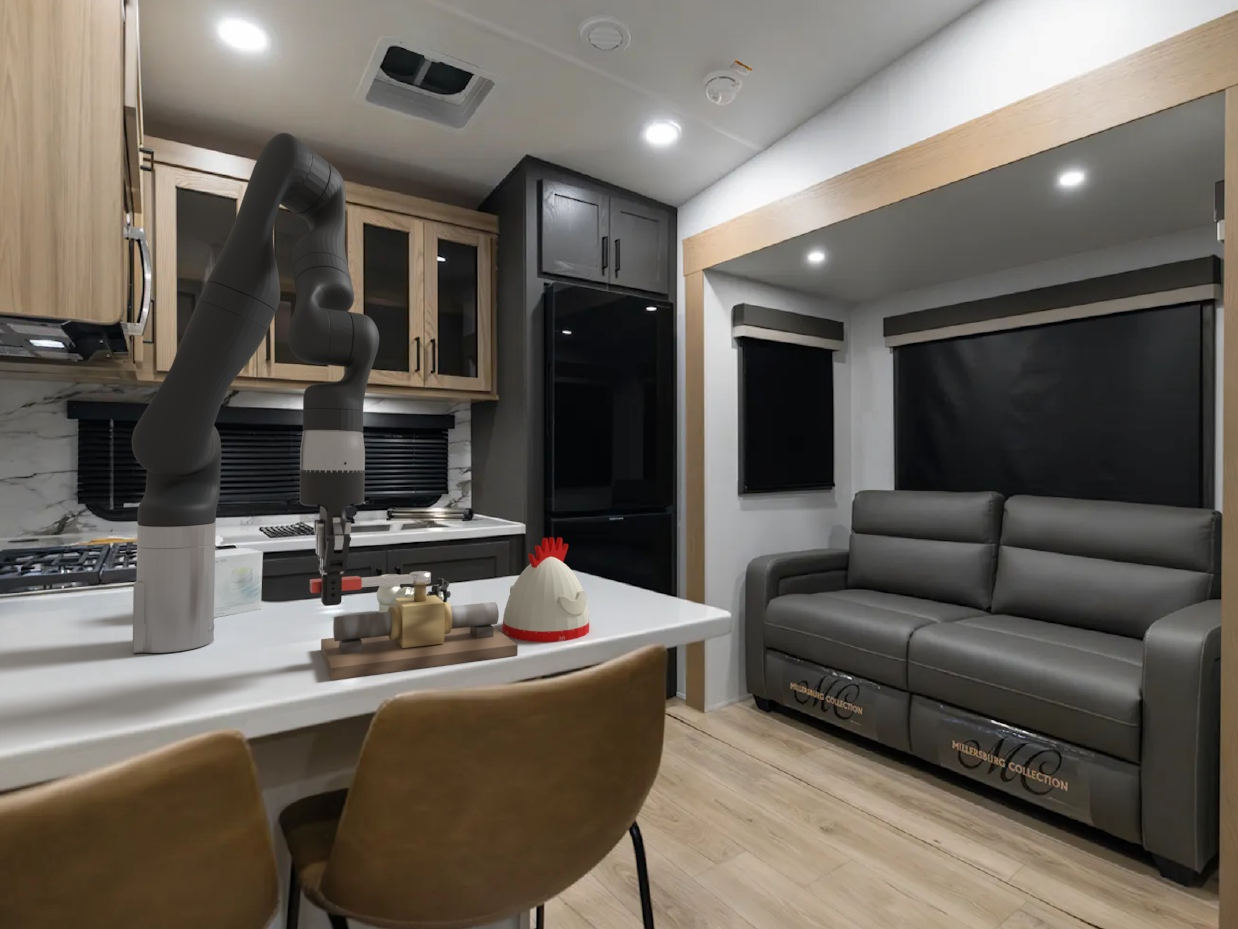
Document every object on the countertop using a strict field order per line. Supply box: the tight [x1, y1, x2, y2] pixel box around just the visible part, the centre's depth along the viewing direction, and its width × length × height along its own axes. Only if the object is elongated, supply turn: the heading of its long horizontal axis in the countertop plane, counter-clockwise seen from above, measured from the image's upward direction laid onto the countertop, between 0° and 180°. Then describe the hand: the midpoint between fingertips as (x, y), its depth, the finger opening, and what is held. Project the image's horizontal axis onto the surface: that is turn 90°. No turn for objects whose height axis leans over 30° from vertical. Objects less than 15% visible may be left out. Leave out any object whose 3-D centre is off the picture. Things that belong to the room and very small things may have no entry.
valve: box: [376, 573, 452, 613], centre depth 114 cm, size 7×7×12 cm
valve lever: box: [309, 570, 432, 594], centre depth 89 cm, size 15×3×1 cm, turn 121°
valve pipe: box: [320, 584, 519, 681], centre depth 92 cm, size 24×14×10 cm, turn 119°
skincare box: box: [214, 547, 264, 619], centre depth 112 cm, size 10×6×10 cm, turn 148°
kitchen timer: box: [502, 536, 590, 643], centre depth 106 cm, size 14×14×15 cm
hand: (331, 604), depth 83 cm, fingers closed
